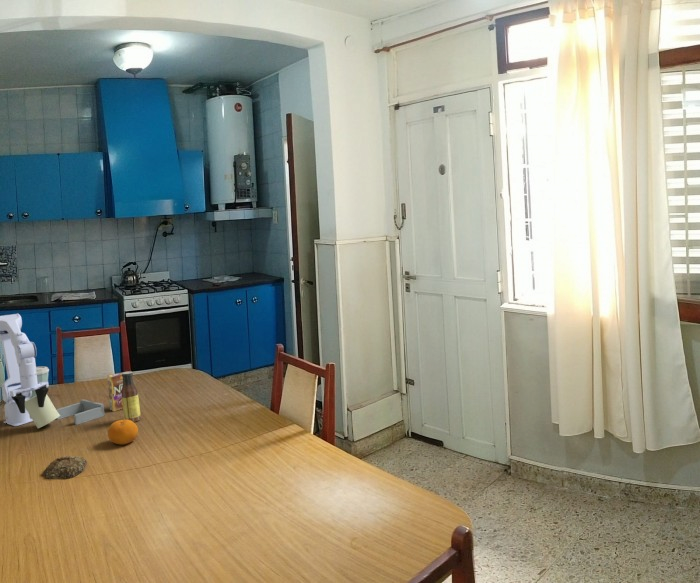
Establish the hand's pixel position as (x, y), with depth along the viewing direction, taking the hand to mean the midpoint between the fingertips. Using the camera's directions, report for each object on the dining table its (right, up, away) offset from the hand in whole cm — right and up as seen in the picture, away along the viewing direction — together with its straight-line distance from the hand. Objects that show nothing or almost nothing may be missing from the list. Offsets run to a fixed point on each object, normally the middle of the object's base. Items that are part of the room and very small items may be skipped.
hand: (32, 409), depth 237 cm
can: (+2, -7, +9) cm, 11 cm away
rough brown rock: (+28, -14, -35) cm, 47 cm away
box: (+10, -7, +20) cm, 23 cm away
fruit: (+39, -10, -11) cm, 42 cm away
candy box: (+23, -5, +30) cm, 38 cm away
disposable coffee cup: (-21, -5, +48) cm, 53 cm away
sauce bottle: (+34, -7, +13) cm, 37 cm away
